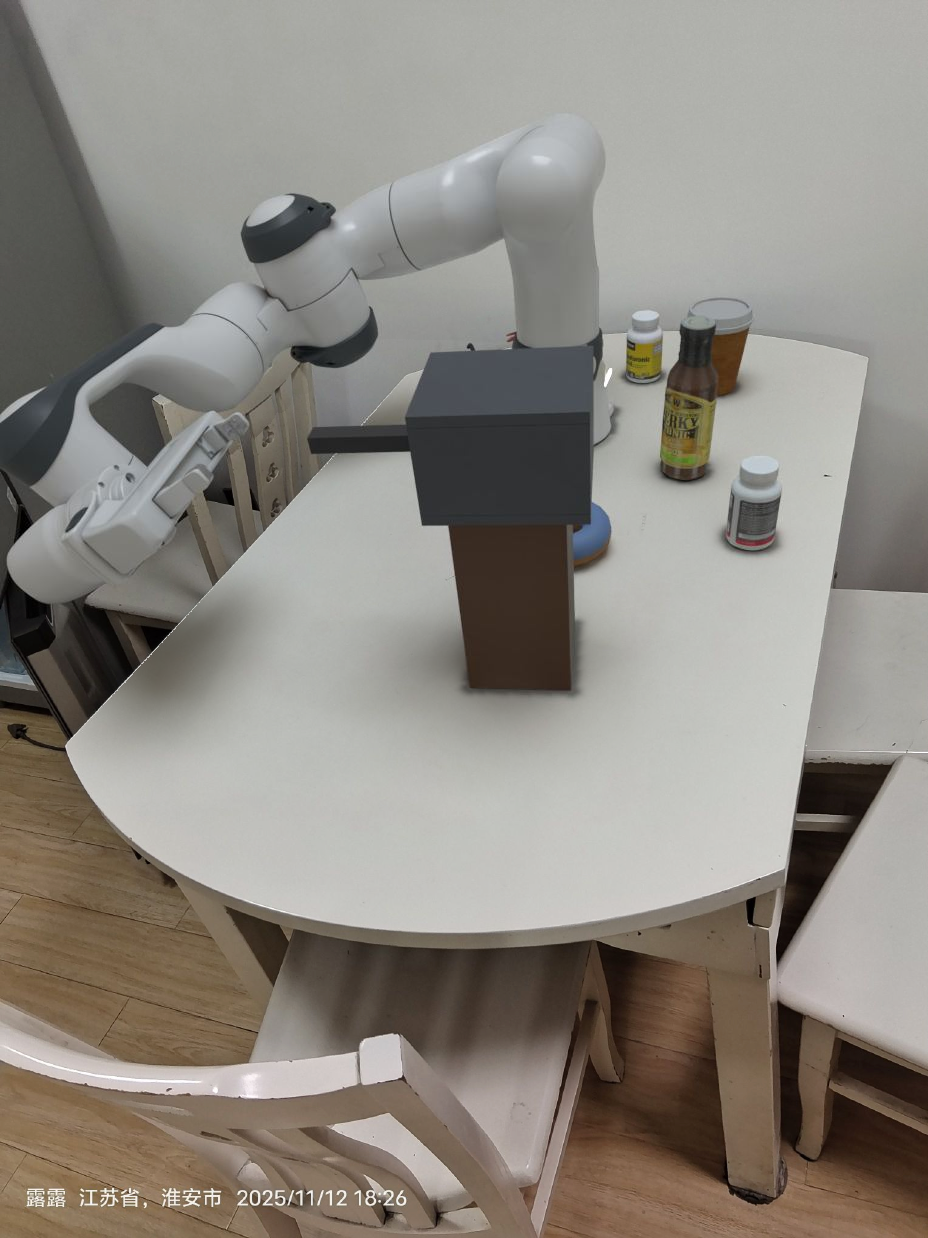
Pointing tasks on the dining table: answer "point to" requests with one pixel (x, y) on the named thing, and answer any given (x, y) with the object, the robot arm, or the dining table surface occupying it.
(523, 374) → the dispenser
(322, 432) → the tray
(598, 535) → the doughnut
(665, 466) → the sauce bottle
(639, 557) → the dining table surface
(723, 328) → the disposable coffee cup
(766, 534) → the pill bottle
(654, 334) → the supplement bottle
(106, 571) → the robot arm
